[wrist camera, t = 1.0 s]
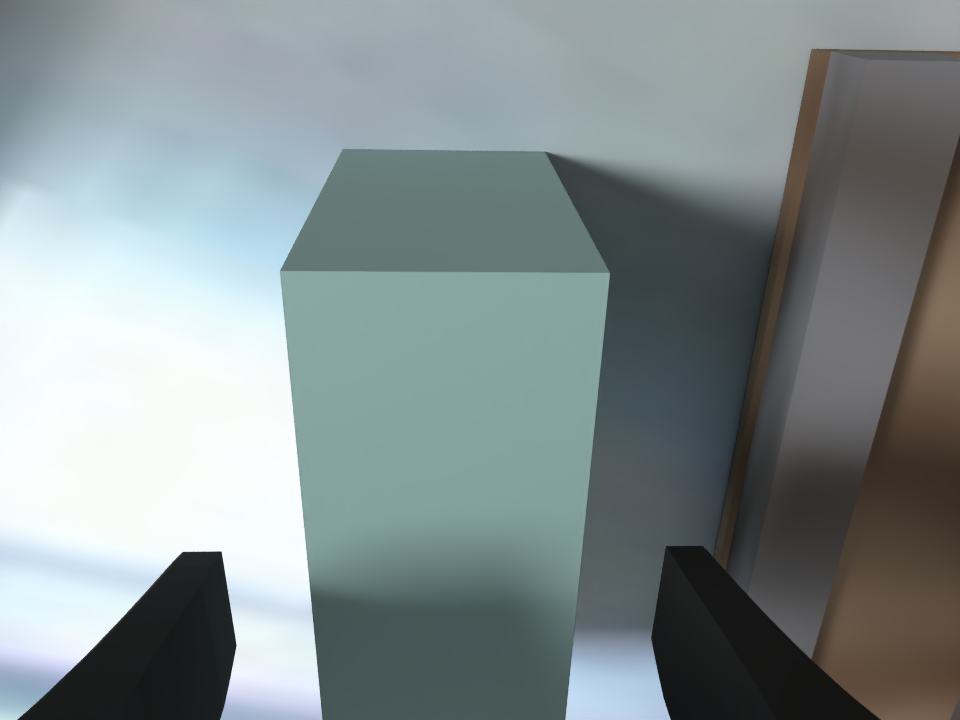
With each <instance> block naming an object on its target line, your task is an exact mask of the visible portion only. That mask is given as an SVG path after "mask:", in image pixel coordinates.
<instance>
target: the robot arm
mask: <svg viewBox="0 0 960 720" xmlns="http://www.w3.org/2000/svg"><path fill="white" fill-rule="evenodd" d="M651 639H652V644H653V649H654V654H655V659H656V664H657V670H658V674H659V679H660V683H661V688H662V692H663V697H664V700H665V703H666V706H667V710H668V713H669V716H670V719H671V720H881V719H879V718H878V717H877V716H876V715H874V714H873V713H872V712H871V711H869V710H868V709H867V708H866V707H864V706H863V705H862V704H861V703H860V702H858V701H857V700H856V699H855V698H854V697H852V696H851V695H850V694H849V693H848V692H847V691H845V690H844V689H843V688H842V687H841V686H840V685H839V684H838V683H836V682H835V681H834V680H833V679H832V678H831V677H830V676H829V675H828V674H827V673H825V672H824V671H823V670H822V669H821V668H820V667H819V666H818V665H817V664H816V663H814V662H813V661H812V660H811V659H810V658H809V657H808V656H807V655H806V654H805V653H804V652H803V651H802V650H801V649H800V648H799V647H798V646H797V645H796V644H795V643H794V642H793V641H792V640H791V639H790V638H789V637H788V636H787V635H786V634H785V633H784V632H783V631H782V630H781V629H780V628H779V627H778V626H777V625H776V624H775V623H774V622H773V621H772V620H771V619H770V618H769V617H768V616H767V615H766V614H765V613H764V612H763V611H762V609H761V608H760V607H759V606H758V605H757V604H756V603H755V602H754V601H753V600H752V599H751V598H750V597H749V596H748V594H747V593H746V592H745V591H744V590H743V589H742V588H741V587H740V586H739V585H738V584H737V583H736V581H735V580H734V579H733V578H732V577H731V576H730V575H729V574H728V573H727V572H726V570H725V569H724V568H723V567H722V566H721V565H720V564H719V563H718V562H717V561H716V560H715V558H714V557H713V556H712V555H711V554H710V553H709V552H708V551H707V550H706V549H705V548H704V547H703V546H666V549H665V556H664V562H663V568H662V574H661V581H660V587H659V593H658V599H657V606H656V612H655V618H654V624H653V631H652V637H651ZM235 650H236V639H235V633H234V627H233V621H232V614H231V608H230V602H229V596H228V589H227V583H226V577H225V571H224V564H223V558H222V552H182V553H181V554H180V555H179V556H178V557H177V558H176V559H175V560H174V561H173V562H172V564H171V565H170V566H169V567H168V568H167V569H166V570H165V571H164V572H163V574H162V575H161V576H160V577H159V578H158V579H157V580H156V581H155V582H154V584H153V585H152V586H151V587H150V588H149V589H148V590H147V591H146V592H145V594H144V595H143V596H142V597H141V598H140V599H139V600H138V601H137V602H136V603H135V605H134V606H133V607H132V608H131V609H130V610H129V611H128V612H127V613H126V614H125V615H124V617H123V618H122V619H121V620H120V621H119V622H118V623H117V624H116V625H115V626H114V627H113V628H112V629H111V630H110V631H109V632H108V633H107V634H106V635H105V636H104V637H103V638H102V640H101V641H100V642H99V643H98V644H97V645H96V646H95V647H94V648H93V649H92V650H91V651H90V652H89V653H88V654H87V655H86V656H85V657H84V658H83V659H82V660H81V661H80V662H79V663H78V664H77V665H76V666H75V667H74V668H73V669H72V670H71V671H69V672H68V673H67V674H66V675H65V676H64V677H63V678H62V679H61V680H60V681H59V682H58V683H57V684H56V685H55V686H54V687H53V688H52V689H51V690H50V691H49V692H48V693H46V694H45V695H44V696H43V697H42V698H41V699H40V700H39V701H38V702H37V703H36V704H35V705H33V706H32V707H31V708H30V709H29V710H28V711H27V712H26V713H24V714H23V715H22V716H21V717H20V718H19V719H18V720H220V718H221V715H222V712H223V708H224V704H225V700H226V695H227V691H228V686H229V681H230V676H231V671H232V666H233V661H234V656H235Z"/></svg>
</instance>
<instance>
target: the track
mask: <svg viewBox="0 0 960 720" xmlns="http://www.w3.org/2000/svg"><path fill="white" fill-rule="evenodd" d="M714 558H715V560H716V561H717V562H718V563H719V564H720V565H721V566H722V567H723V568H724V569H725V570H726V572H727V573H728V574H729V575H730V576H731V577H732V578H733V579H734V580H735V581H736V583H737V584H738V585H739V586H740V587H741V588H742V589H743V590H744V591H745V592H746V593H747V594H748V596H749V597H750V598H751V599H752V600H753V601H754V602H755V603H756V604H757V605H758V606H759V607H760V608H761V609H762V611H763V612H764V613H765V614H766V615H767V616H768V617H769V618H770V619H771V620H772V621H773V622H774V623H775V624H776V625H777V626H778V627H779V628H780V629H781V630H782V631H783V632H784V633H785V634H786V635H787V636H788V637H789V638H790V639H791V640H792V641H793V642H794V643H795V644H796V645H797V646H798V647H799V648H800V649H801V650H802V651H803V652H804V653H805V654H806V655H807V656H808V657H809V658H810V659H811V660H812V661H813V662H814V663H816V664H817V665H818V666H819V667H820V668H821V669H822V670H823V671H824V672H825V673H827V674H828V675H829V676H830V677H831V678H832V679H833V680H834V681H835V682H836V683H838V684H839V685H840V686H841V687H842V688H843V689H844V690H845V691H847V692H848V693H849V694H850V695H851V696H852V697H854V698H855V699H856V700H857V701H858V702H860V703H861V704H862V705H863V706H864V707H866V708H867V709H868V710H869V711H871V712H872V713H873V714H874V715H876V716H877V717H878V718H879V719H881V720H960V52H953V51H897V50H841V49H812V50H811V55H810V61H809V66H808V71H807V76H806V81H805V87H804V92H803V97H802V102H801V107H800V112H799V118H798V123H797V128H796V133H795V138H794V144H793V149H792V154H791V159H790V164H789V169H788V175H787V180H786V185H785V190H784V195H783V201H782V206H781V211H780V216H779V221H778V227H777V232H776V237H775V242H774V247H773V252H772V258H771V263H770V268H769V273H768V278H767V284H766V289H765V294H764V299H763V304H762V309H761V315H760V320H759V325H758V330H757V335H756V341H755V346H754V351H753V356H752V361H751V366H750V372H749V377H748V382H747V387H746V392H745V398H744V403H743V408H742V413H741V418H740V424H739V429H738V434H737V439H736V444H735V449H734V455H733V460H732V465H731V470H730V475H729V481H728V486H727V491H726V496H725V501H724V506H723V512H722V517H721V522H720V527H719V532H718V538H717V543H716V548H715V553H714Z"/></svg>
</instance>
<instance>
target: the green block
mask: <svg viewBox="0 0 960 720" xmlns="http://www.w3.org/2000/svg"><path fill="white" fill-rule="evenodd" d="M280 275H281V286H282V296H283V307H284V317H285V328H286V339H287V349H288V360H289V370H290V381H291V391H292V402H293V412H294V423H295V433H296V444H297V455H298V465H299V476H300V486H301V497H302V507H303V518H304V528H305V539H306V549H307V560H308V570H309V581H310V592H311V602H312V613H313V623H314V634H315V644H316V655H317V665H318V676H319V686H320V697H321V708H322V718H323V720H565V717H566V707H567V697H568V687H569V677H570V667H571V657H572V647H573V637H574V627H575V617H576V607H577V597H578V587H579V577H580V567H581V557H582V547H583V537H584V527H585V517H586V507H587V497H588V488H589V478H590V468H591V458H592V448H593V438H594V428H595V418H596V408H597V398H598V388H599V378H600V368H601V358H602V348H603V338H604V328H605V318H606V308H607V298H608V288H609V278H610V272H609V270H608V268H607V266H606V264H605V263H604V261H603V259H602V257H601V255H600V253H599V251H598V250H597V248H596V246H595V244H594V242H593V240H592V238H591V237H590V235H589V233H588V231H587V229H586V227H585V225H584V223H583V222H582V220H581V218H580V216H579V214H578V212H577V210H576V209H575V207H574V205H573V203H572V201H571V199H570V197H569V196H568V194H567V192H566V190H565V188H564V186H563V184H562V183H561V181H560V179H559V177H558V175H557V173H556V171H555V169H554V168H553V166H552V164H551V162H550V160H549V158H548V156H547V155H546V153H545V152H528V151H451V150H373V149H343V150H342V152H341V154H340V156H339V158H338V159H337V161H336V163H335V165H334V167H333V169H332V171H331V173H330V175H329V177H328V179H327V181H326V183H325V185H324V187H323V189H322V191H321V193H320V194H319V196H318V198H317V200H316V202H315V204H314V206H313V208H312V210H311V212H310V214H309V216H308V218H307V220H306V222H305V224H304V226H303V227H302V229H301V231H300V233H299V235H298V237H297V239H296V241H295V243H294V245H293V247H292V249H291V251H290V253H289V255H288V257H287V259H286V261H285V262H284V264H283V266H282V268H281V270H280Z"/></svg>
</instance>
